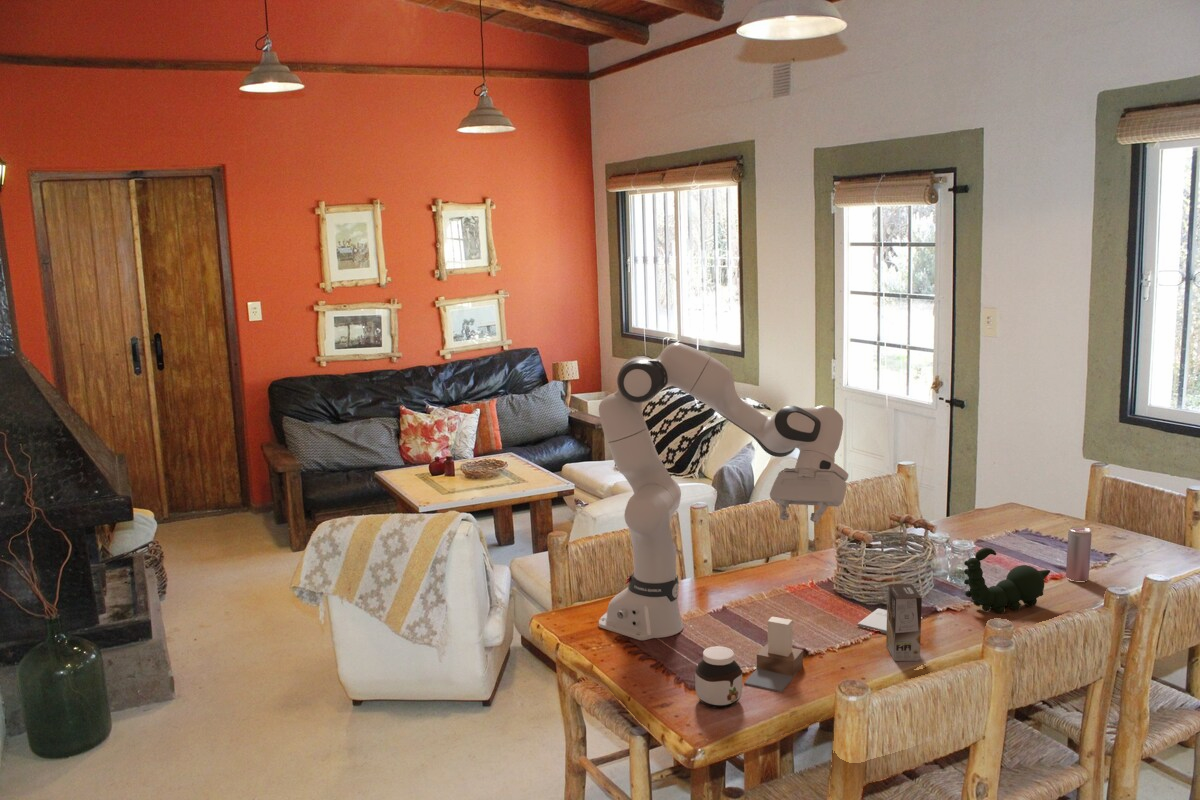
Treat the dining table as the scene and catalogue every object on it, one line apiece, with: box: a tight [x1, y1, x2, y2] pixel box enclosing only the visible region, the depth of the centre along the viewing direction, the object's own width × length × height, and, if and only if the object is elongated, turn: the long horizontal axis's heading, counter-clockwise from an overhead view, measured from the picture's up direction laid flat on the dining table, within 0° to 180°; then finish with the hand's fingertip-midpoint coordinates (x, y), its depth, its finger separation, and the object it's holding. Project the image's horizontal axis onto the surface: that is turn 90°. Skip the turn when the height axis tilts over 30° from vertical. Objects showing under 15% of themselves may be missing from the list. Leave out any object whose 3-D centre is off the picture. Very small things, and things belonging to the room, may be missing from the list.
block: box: [767, 616, 793, 657], centre depth 241 cm, size 5×3×8 cm, turn 61°
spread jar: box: [694, 645, 743, 710], centre depth 228 cm, size 12×11×12 cm
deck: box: [756, 642, 804, 678], centre depth 242 cm, size 9×7×4 cm
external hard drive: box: [856, 608, 887, 635], centre depth 266 cm, size 2×8×12 cm
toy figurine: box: [963, 547, 1051, 614], centre depth 271 cm, size 9×19×25 cm
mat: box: [743, 668, 794, 693], centre depth 236 cm, size 9×8×1 cm
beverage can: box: [1065, 525, 1093, 581], centre depth 289 cm, size 6×6×15 cm
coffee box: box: [885, 583, 923, 662], centre depth 247 cm, size 9×6×16 cm
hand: (798, 520), depth 248 cm, fingers open, 8 cm apart
